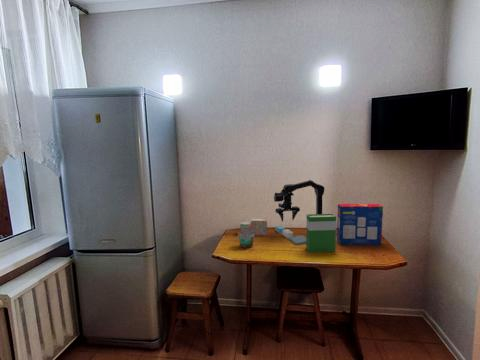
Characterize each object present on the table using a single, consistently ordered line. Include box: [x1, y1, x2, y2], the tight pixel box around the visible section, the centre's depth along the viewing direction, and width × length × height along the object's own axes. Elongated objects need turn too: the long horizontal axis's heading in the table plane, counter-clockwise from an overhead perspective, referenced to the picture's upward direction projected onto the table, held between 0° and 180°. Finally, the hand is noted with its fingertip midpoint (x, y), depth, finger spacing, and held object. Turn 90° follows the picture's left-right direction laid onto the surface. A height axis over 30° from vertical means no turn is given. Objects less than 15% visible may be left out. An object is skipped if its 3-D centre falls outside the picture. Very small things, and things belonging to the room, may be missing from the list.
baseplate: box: [287, 235, 306, 246], centre depth 201 cm, size 12×12×2 cm
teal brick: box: [274, 225, 286, 234], centre depth 222 cm, size 5×8×4 cm, turn 18°
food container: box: [237, 231, 255, 250], centre depth 191 cm, size 12×6×10 cm, turn 68°
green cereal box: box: [305, 213, 337, 253], centre depth 183 cm, size 18×7×24 cm, turn 90°
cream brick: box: [281, 229, 294, 239], centre depth 212 cm, size 5×8×4 cm, turn 19°
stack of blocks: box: [239, 218, 268, 236], centre depth 218 cm, size 21×6×12 cm, turn 85°
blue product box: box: [336, 203, 384, 247], centre depth 193 cm, size 28×8×28 cm, turn 83°
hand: (287, 220), depth 211 cm, fingers open, 9 cm apart
